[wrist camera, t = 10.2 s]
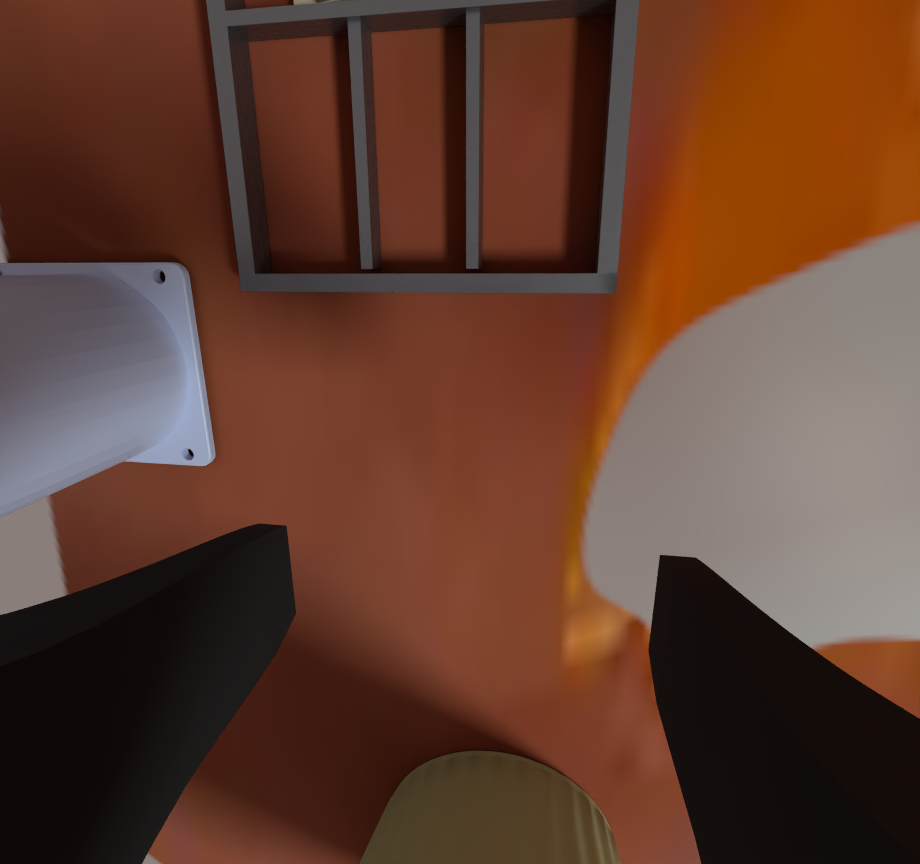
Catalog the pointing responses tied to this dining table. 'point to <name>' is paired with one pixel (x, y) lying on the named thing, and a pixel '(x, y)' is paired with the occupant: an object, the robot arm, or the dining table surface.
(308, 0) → the offcut stack
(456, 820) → the potted cactus
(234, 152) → the metal rack
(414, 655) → the dining table surface
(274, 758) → the dining table surface
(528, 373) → the dining table surface
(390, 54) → the dining table surface
